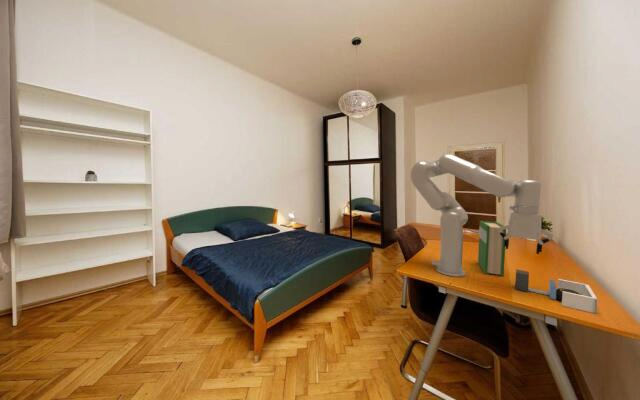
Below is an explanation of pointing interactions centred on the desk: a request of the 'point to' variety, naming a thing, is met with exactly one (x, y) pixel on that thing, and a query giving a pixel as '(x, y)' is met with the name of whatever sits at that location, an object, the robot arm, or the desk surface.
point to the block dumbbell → (522, 285)
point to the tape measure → (560, 290)
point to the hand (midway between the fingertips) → (521, 250)
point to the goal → (578, 296)
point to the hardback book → (491, 248)
